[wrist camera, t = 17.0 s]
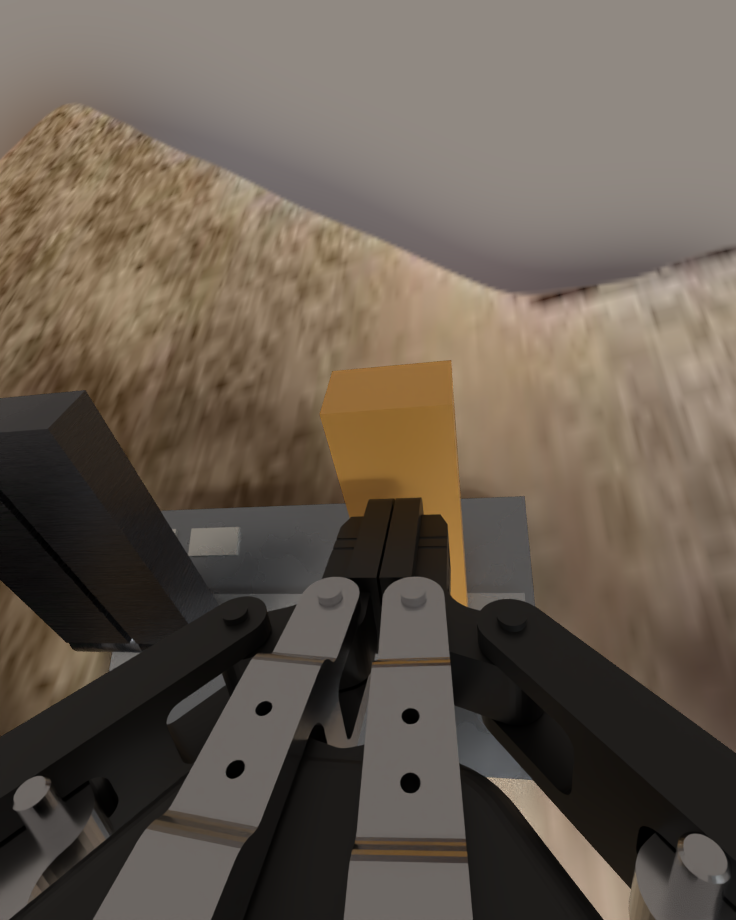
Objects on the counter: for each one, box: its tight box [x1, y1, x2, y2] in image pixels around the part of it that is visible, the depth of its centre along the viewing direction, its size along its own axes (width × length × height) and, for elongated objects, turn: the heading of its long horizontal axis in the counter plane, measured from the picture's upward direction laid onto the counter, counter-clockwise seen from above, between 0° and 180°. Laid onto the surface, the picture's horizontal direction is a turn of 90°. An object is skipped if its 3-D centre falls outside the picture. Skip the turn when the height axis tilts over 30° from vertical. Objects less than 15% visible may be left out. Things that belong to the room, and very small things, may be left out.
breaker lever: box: [320, 360, 468, 607], centre depth 19 cm, size 4×2×15 cm, turn 89°
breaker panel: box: [0, 390, 535, 780], centre depth 21 cm, size 24×14×18 cm, turn 89°
